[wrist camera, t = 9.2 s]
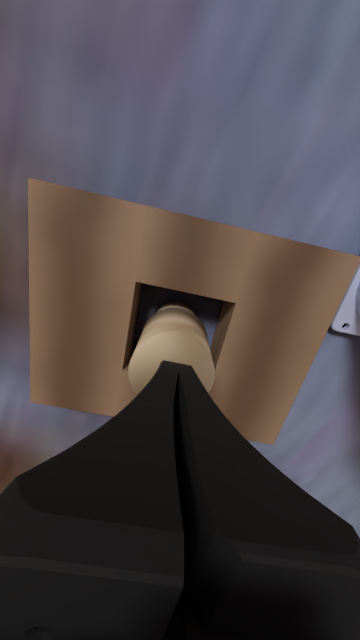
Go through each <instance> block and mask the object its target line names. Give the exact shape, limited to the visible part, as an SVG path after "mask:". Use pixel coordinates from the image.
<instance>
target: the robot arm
mask: <svg viewBox="0 0 360 640" xmlns="http://www.w3.org/2000/svg"><path fill="white" fill-rule="evenodd" d="M345 323H346V325H345V326H344V327H343V328H342V326H343V324H345ZM330 328H331V329H333V330H335V331H338V332H343V333H347V334H352V335H357V336H360V263H359V265H358V267H357V269H356V271H355V274H354V276H353V278H352V280H351V282H350V284H349V286H348V288H347V290H346V292H345V295H344V297H343V299H342V301H341V303H340V305H339V307H338V309H337V311H336V314H335V316H334V318H333V320H332V322H331V324H330ZM0 640H360V538H359V536H358V535H357V533H356V532H355V530H354V528H353V527H352V526H351V525H350V524H349V523H347V522H346V521H345V520H343V519H342V518H340V517H339V516H338V515H336V514H335V513H334V512H332V511H331V510H330V509H328V508H327V507H325V506H324V505H323V504H321V503H320V502H319V501H317V500H316V499H315V498H313V497H312V496H310V495H309V494H308V493H306V492H305V491H304V490H303V489H301V488H300V487H299V486H298V485H296V484H295V483H294V482H293V481H292V480H290V479H289V478H288V477H287V476H285V475H284V474H283V473H282V472H281V471H279V470H278V469H277V468H276V467H275V466H274V465H273V464H271V463H270V462H269V461H268V460H267V459H266V458H265V457H264V456H263V455H262V454H261V453H259V452H258V451H257V450H256V449H255V448H254V447H253V446H252V445H251V444H250V443H249V442H248V441H247V440H246V439H245V438H244V437H243V436H242V435H241V434H240V433H239V431H238V430H237V429H236V428H235V427H234V426H233V425H232V424H231V423H230V421H229V420H228V419H227V418H226V417H225V415H224V414H223V413H222V412H221V410H220V409H219V408H218V406H217V405H216V404H215V402H214V401H213V400H212V398H211V397H210V395H209V394H208V392H207V391H206V389H205V387H204V386H203V384H202V383H201V381H200V379H199V378H198V376H197V374H196V372H195V371H194V369H193V367H192V366H191V365H186V364H181V363H175V362H170V361H165V360H163V361H162V362H161V363H160V366H159V368H158V369H157V371H156V373H155V374H154V376H153V377H152V378H151V380H150V381H149V382H148V384H147V385H146V386H145V387H144V388H143V389H142V390H141V392H140V393H139V394H138V395H137V396H136V397H135V398H134V399H133V400H132V401H131V402H130V403H129V404H128V405H127V406H126V407H125V408H123V409H122V410H121V411H120V412H119V413H118V414H117V415H115V416H114V417H113V418H112V419H110V420H109V421H108V422H106V423H105V424H104V425H103V426H101V427H100V428H98V429H97V430H96V431H94V432H93V433H91V434H90V435H88V436H87V437H85V438H83V439H82V440H80V441H79V442H77V443H76V444H74V445H73V446H71V447H70V448H68V449H66V450H65V451H63V452H61V453H60V454H58V455H56V456H54V457H52V458H50V459H49V460H47V461H45V462H43V463H41V464H39V465H38V466H36V467H34V468H32V469H30V470H28V471H27V472H25V473H23V474H21V475H19V476H17V477H16V478H15V479H14V480H13V481H12V482H11V483H10V484H9V485H8V487H7V488H6V489H5V490H4V491H3V492H2V493H1V494H0Z"/></svg>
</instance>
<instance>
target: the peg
mask: <svg viewBox="0 0 360 640" xmlns="http://www.w3.org/2000/svg"><path fill="white" fill-rule="evenodd" d="M163 360H165V361H170V362H175V363H181V364H186V365H191V366H192V367H193V369H194V371H195V372H196V374H197V376H198V378H199V379H200V381H201V383H202V384H203V386H204V387H205V389H206V391H207V392H208V393H209V392H210V390H211V388H212V386H213V383H214V379H215V368H214V363H213V359H212V356H211V352H210V348H209V344H208V340H207V333H206V329H205V327H204V325H203V323H202V322H201V320H200V319H199V318H198V317H197V314H196V312H195V311H194V309H193V308H192V307H191V306H190V305H188V304H186V303H184V302H181V301H170V302H167V303H164V304H163V305H161V306H160V307H159V308H158V309H157V311H156V312H155V314H154V315H152V316H151V317H150V318H149V319H148V321H147V322H146V324H145V325H144V328H143V330H142V334H141V337H140V339H139V342H138V344H137V346H136V349H135V351H134V353H133V356H132V358H131V360H130V363H129V368H128V376H129V381H130V384H131V386H132V388H133V390H134V392H135V393H136V394H137V395H138V394H139V393H140V392H141V390H142V389H143V388H144V387H145V386H146V385H147V384H148V382H149V381H150V380H151V378H152V377H153V376H154V374H155V373H156V371H157V369H158V368H159V366H160V363H161V362H162V361H163Z"/></svg>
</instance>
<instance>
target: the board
mask: <svg viewBox="0 0 360 640" xmlns="http://www.w3.org/2000/svg"><path fill="white" fill-rule="evenodd" d="M28 213H29V306H30V400H31V402H33V403H39V404H45V405H51V406H56V407H62V408H68V409H73V410H79V411H85V412H91V413H96V414H102V415H108V416H113V417H114V416H115V415H117V414H118V413H119V412H120V411H121V410H122V409H123V408H125V407H126V406H127V405H128V404H129V403H130V402H131V401H132V400H133V399H134V398H135V397H136V396H137V394H136V393H135V392H134V390H133V388H132V386H131V384H130V381H129V376H128V368H129V363H130V360H131V358H132V356H133V353H134V351H135V350H134V349H132V345H133V339H134V333H135V326H136V320H137V314H138V308H139V301H140V295H141V289H142V283H145V284H149V285H154V286H159V287H163V288H168V289H173V290H177V291H182V292H187V293H191V294H196V295H201V296H205V297H210V298H214V299H219V300H224V302H223V306H222V309H221V313H220V316H219V320H218V323H217V326H216V330H215V333H214V337H213V340H212V344H211V347H210V352H211V356H212V359H213V363H214V368H215V379H214V383H213V386H212V388H211V390H210V392H209V393H208V394H209V395H210V397H211V398H212V400H213V401H214V402H215V404H216V405H217V406H218V408H219V409H220V410H221V412H222V413H223V414H224V415H225V417H226V418H227V419H228V420H229V421H230V423H231V424H232V425H233V426H234V427H235V428H236V429H237V430H238V431H239V433H240V434H241V435H242V436H243V437H244V438H245V439H246V440H251V441H256V442H262V443H268V444H274V442H275V440H276V438H277V436H278V434H279V432H280V430H281V427H282V425H283V423H284V421H285V419H286V417H287V415H288V413H289V411H290V408H291V406H292V404H293V402H294V400H295V398H296V396H297V394H298V392H299V389H300V387H301V385H302V383H303V381H304V379H305V377H306V375H307V373H308V370H309V368H310V366H311V364H312V362H313V360H314V358H315V356H316V354H317V352H318V349H319V347H320V345H321V343H322V341H323V339H324V337H325V335H326V333H327V330H328V328H329V326H330V324H331V322H332V320H333V318H334V316H335V314H336V311H337V309H338V307H339V305H340V303H341V301H342V299H343V297H344V295H345V292H346V290H347V288H348V286H349V284H350V282H351V280H352V278H353V276H354V274H355V271H356V269H357V267H358V265H359V263H360V256H356V255H352V254H348V253H344V252H339V251H335V250H331V249H327V248H323V247H318V246H314V245H310V244H306V243H301V242H297V241H293V240H289V239H285V238H280V237H276V236H272V235H268V234H264V233H259V232H255V231H251V230H247V229H243V228H238V227H234V226H230V225H226V224H222V223H217V222H213V221H209V220H205V219H201V218H196V217H192V216H188V215H184V214H179V213H175V212H171V211H167V210H163V209H158V208H154V207H150V206H146V205H142V204H137V203H133V202H129V201H125V200H121V199H116V198H112V197H108V196H104V195H100V194H95V193H91V192H87V191H83V190H78V189H74V188H70V187H66V186H62V185H57V184H53V183H49V182H45V181H41V180H36V179H32V178H28Z"/></svg>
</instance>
